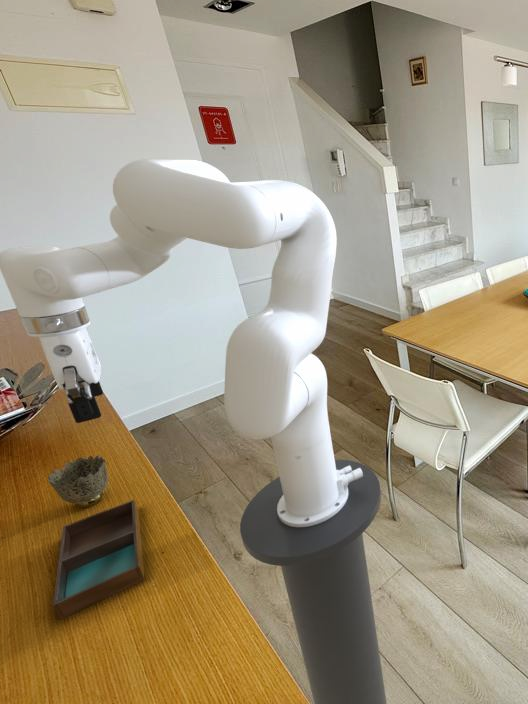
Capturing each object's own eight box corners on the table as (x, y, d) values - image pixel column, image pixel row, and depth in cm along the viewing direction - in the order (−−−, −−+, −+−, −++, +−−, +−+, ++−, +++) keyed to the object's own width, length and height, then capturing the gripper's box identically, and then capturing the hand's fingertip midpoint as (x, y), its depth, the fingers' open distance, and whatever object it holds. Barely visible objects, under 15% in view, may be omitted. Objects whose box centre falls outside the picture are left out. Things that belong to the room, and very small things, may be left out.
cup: (85, 520, 75) (69, 485, 72) (52, 514, 76) (35, 479, 73) (127, 490, 82) (114, 457, 79) (97, 485, 83) (83, 452, 80)
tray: (139, 512, 77) (134, 499, 76) (144, 580, 65) (138, 566, 64) (69, 539, 71) (62, 526, 70) (60, 620, 59) (52, 605, 58)
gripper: (85, 330, 66) (118, 421, 72) (90, 303, 78) (118, 383, 84) (14, 342, 61) (56, 438, 67) (32, 311, 73) (66, 395, 79)
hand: (90, 407), depth 76 cm, fingers open, 9 cm apart
